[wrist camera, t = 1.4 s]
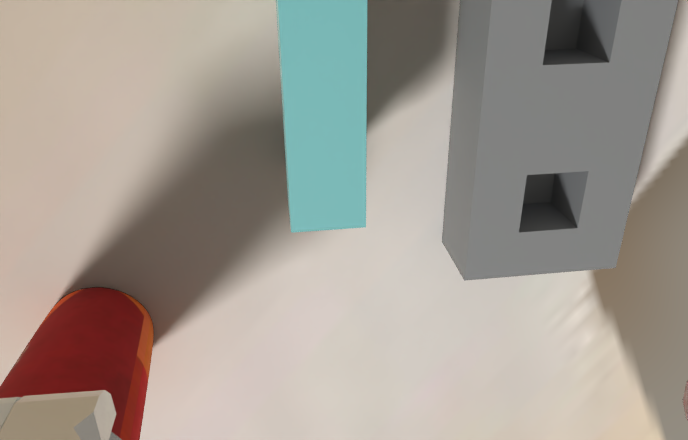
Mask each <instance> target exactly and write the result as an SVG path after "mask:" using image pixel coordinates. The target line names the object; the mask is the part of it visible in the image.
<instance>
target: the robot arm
mask: <svg viewBox="0 0 688 440" xmlns="http://www.w3.org/2000/svg"><path fill="white" fill-rule="evenodd" d="M683 403H684V408H685V414H686V419H687V421H688V380H687V384H686V387H685V391H684V396H683ZM115 417H116V411H115V407H114V404H113V400H112V396H111V394H110V393H109V392H107V391H106V390H97V391H84V392H70V393H57V394H43V395H30V396H23V397H12V398H0V440H122V439H120V438H119V437H118V436H117V435H115V434H114V433H113V432H111V431H112V427H113V424H114V420H115Z"/></svg>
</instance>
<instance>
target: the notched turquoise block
mask: <svg viewBox="0 0 688 440" xmlns="http://www.w3.org/2000/svg"><path fill="white" fill-rule="evenodd" d="M276 9H277V25H278V42H279V59H280V76H281V92H282V109H283V126H284V142H285V159H286V176H287V192H288V207H289V216H290V225H291V232H305V231H319V230H333V229H347V228H361V227H366V121H367V0H276Z"/></svg>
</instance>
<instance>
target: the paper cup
mask: <svg viewBox="0 0 688 440" xmlns="http://www.w3.org/2000/svg"><path fill="white" fill-rule="evenodd" d="M153 336H154V331H153V323H152V320H151V317H150V315H149V313H148V312H147V310H146V309H145V308H144V307H143V305H141V304H140V303H139V302H138V301H137V300H136V299H134V298H133V297H131V296H129V295H127V294H125V293H123V292H121V291H118V290H114V289H109V288H101V287H93V288H85V289H81V290H77V291H74V292H72V293H70V294H68V295H66V296H65V297H63V298H62V299H61V300H60V301H59V302H58V303H57V304H56V305H55V306H54V307H53V309H52V310H51V311H50V312H49V314H48V315H47V317H46V318H45V320H44V321H43V322H42V324H41V325H40V327H39V328H38V330H37V331H36V333H35V334H34V336H33V337H32V339H31V340H30V342H29V343H28V345H27V346H26V348H25V349H24V351H23V352H22V354H21V356H20V357H19V359H18V360H17V362H16V363H15V365H14V366H13V368H12V369H11V371H10V372H9V374H8V376H7V377H6V379H5V380H4V382H3V383H2V385H1V386H0V398H12V397H23V396H30V395H43V394H57V393H70V392H84V391H97V390H106V391H107V392H109V393H110V394H111V396H112V400H113V404H114V407H115V411H116V417H115V420H114V424H113V427H112V431H111V432H113V433H114V434H115V435H117V436H118V437H119V438H120V439H122V440H139V439H140V432H141V425H142V419H143V412H144V405H145V398H146V391H147V385H148V377H149V370H150V363H151V355H152V347H153Z"/></svg>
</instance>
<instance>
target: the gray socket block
mask: <svg viewBox="0 0 688 440" xmlns="http://www.w3.org/2000/svg"><path fill="white" fill-rule="evenodd" d="M677 4H678V0H460V9H459V22H458V35H457V49H456V62H455V75H454V89H453V102H452V115H451V129H450V142H449V155H448V169H447V182H446V196H445V209H444V222H443V236H442V242H443V244H444V246H445V247H446V249H447V251H448V253H449V254H450V256H451V258H452V260H453V261H454V263H455V265H456V267H457V268H458V270H459V272H460V274H461V275H462V277H463V279H464V280H475V279H487V278H499V277H511V276H523V275H535V274H547V273H559V272H571V271H583V270H595V269H607V268H616V264H617V259H618V255H619V251H620V246H621V242H622V238H623V234H624V230H625V225H626V221H627V217H628V213H629V208H630V204H631V200H632V196H633V191H634V187H635V183H636V178H637V174H638V170H639V166H640V161H641V157H642V153H643V149H644V144H645V140H646V136H647V132H648V127H649V123H650V119H651V115H652V110H653V106H654V102H655V97H656V93H657V89H658V85H659V80H660V76H661V72H662V68H663V63H664V59H665V55H666V51H667V46H668V42H669V38H670V34H671V29H672V25H673V21H674V16H675V12H676V8H677Z"/></svg>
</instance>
